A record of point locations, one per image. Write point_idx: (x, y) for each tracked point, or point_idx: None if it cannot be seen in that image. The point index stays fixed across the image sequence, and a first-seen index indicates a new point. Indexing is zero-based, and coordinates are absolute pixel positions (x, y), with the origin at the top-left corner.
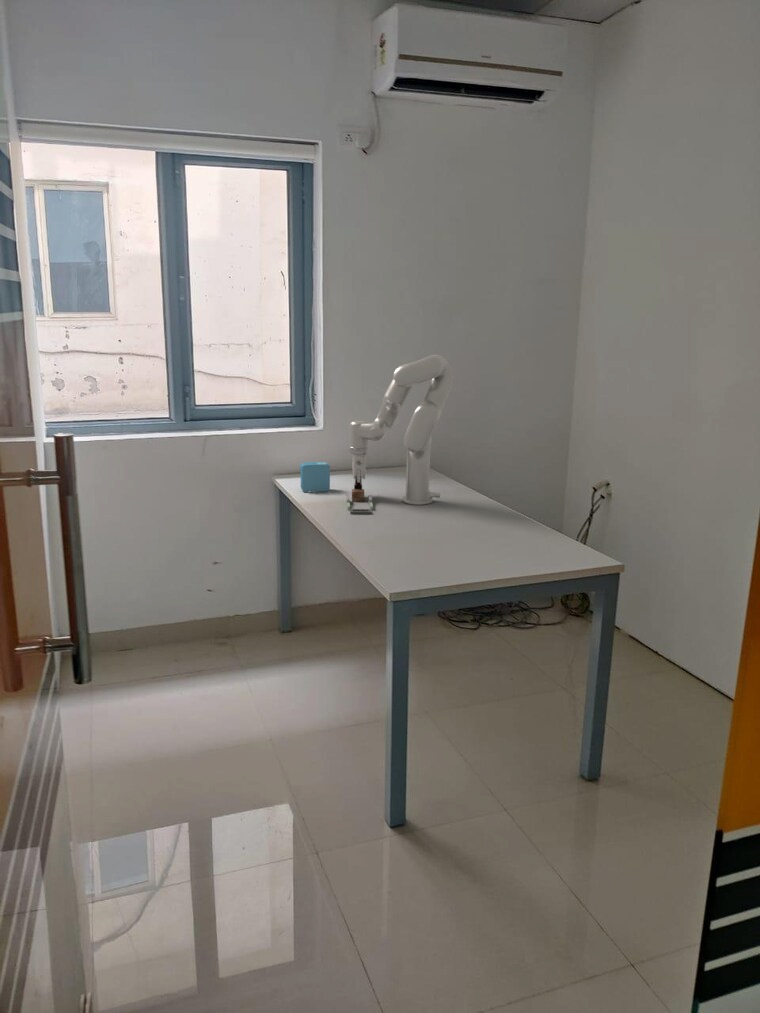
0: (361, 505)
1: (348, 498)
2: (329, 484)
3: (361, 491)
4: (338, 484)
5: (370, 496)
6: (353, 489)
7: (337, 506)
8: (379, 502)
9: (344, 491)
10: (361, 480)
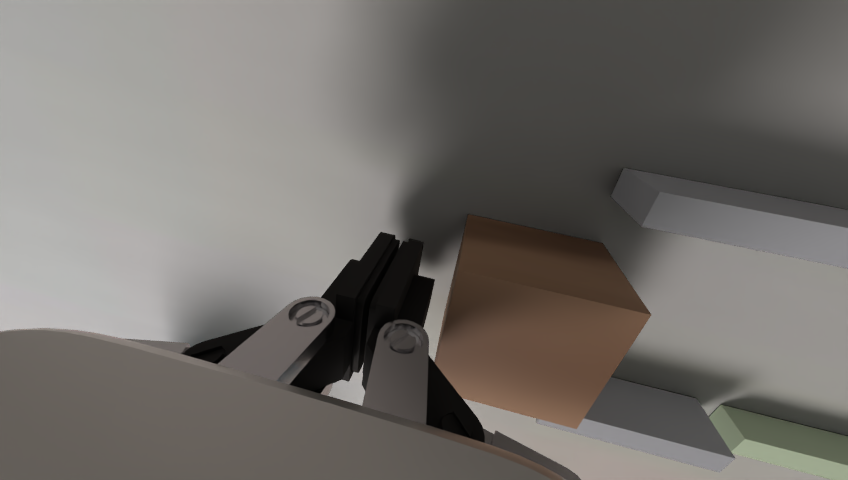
0: (758, 312)
1: (681, 451)
2: None
3: (598, 340)
4: (25, 278)
5: (731, 219)
6: (453, 382)
7: (670, 464)
8: (748, 57)
9: (212, 297)
10: (427, 423)
